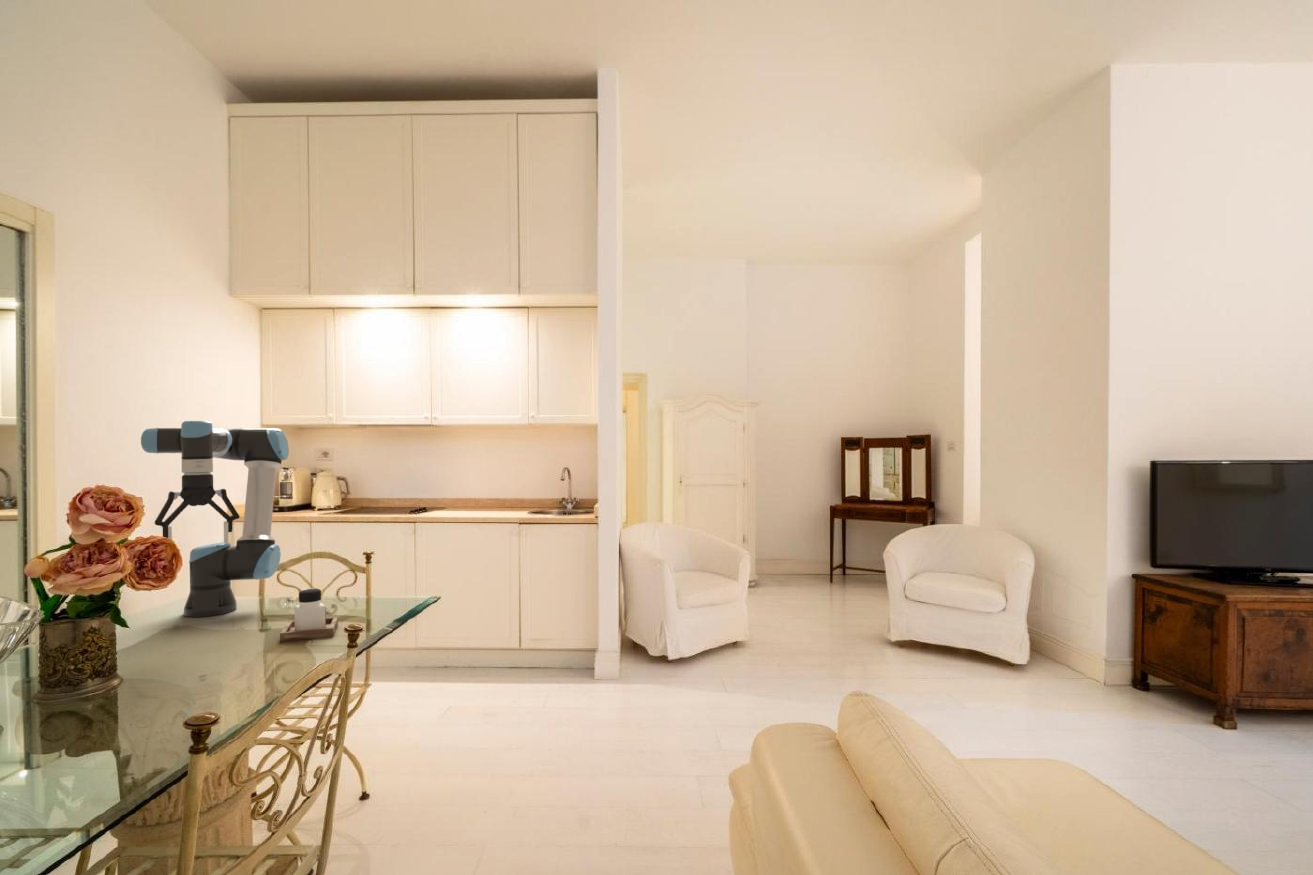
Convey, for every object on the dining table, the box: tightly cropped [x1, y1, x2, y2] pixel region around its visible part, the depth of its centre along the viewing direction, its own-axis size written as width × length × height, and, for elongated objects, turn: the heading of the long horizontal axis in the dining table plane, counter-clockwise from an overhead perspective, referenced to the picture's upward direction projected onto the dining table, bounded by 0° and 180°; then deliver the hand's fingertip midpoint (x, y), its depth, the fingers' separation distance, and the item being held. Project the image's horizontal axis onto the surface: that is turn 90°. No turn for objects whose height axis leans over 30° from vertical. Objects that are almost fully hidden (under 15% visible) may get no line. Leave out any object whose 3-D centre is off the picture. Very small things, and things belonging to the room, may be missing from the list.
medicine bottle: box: [294, 587, 327, 631], centre depth 200 cm, size 7×7×12 cm
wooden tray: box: [279, 616, 339, 643], centre depth 200 cm, size 14×14×2 cm
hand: (198, 546), depth 192 cm, fingers open, 13 cm apart
